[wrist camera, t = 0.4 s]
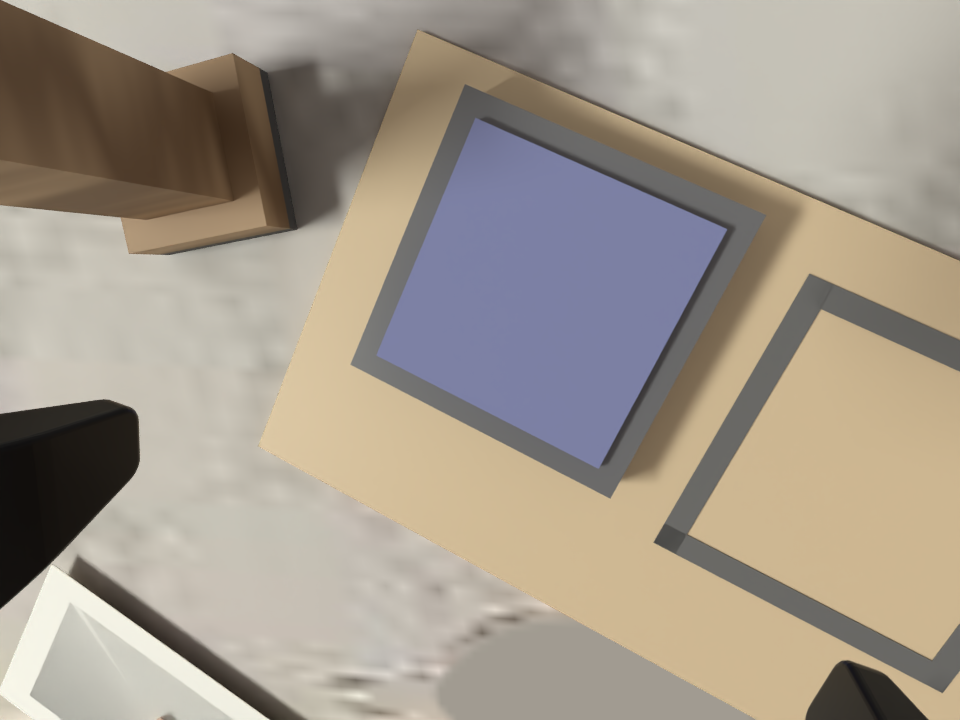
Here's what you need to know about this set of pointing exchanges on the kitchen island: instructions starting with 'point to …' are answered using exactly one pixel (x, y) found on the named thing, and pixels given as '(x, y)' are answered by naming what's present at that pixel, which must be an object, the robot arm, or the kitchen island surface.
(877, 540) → the board
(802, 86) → the kitchen island surface
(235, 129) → the walnut stamp
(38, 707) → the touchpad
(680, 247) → the ink pad
